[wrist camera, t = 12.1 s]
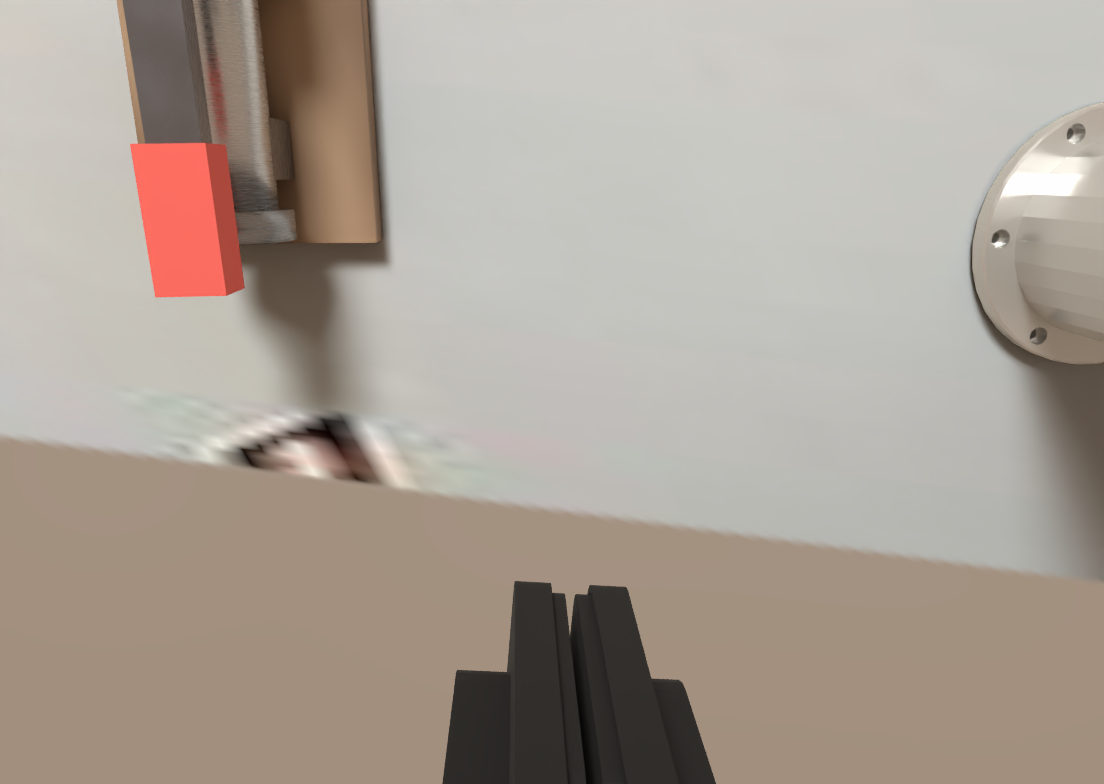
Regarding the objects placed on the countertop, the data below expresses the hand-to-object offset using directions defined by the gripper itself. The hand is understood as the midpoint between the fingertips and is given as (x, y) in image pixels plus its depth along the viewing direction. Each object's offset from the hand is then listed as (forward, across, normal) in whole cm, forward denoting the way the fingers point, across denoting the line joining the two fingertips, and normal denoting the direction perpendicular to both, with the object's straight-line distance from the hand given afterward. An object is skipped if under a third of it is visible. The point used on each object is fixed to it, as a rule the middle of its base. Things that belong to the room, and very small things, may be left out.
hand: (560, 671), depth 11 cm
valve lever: (+19, +13, -10) cm, 24 cm away
